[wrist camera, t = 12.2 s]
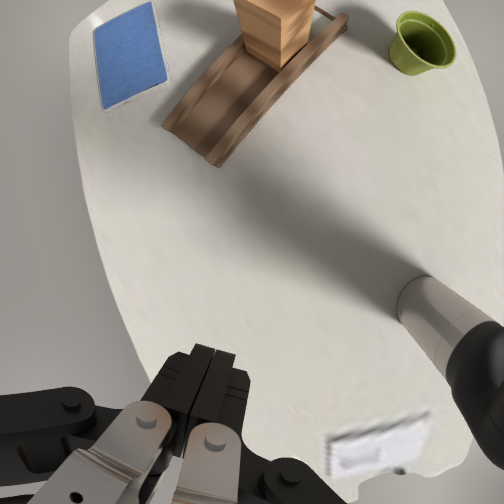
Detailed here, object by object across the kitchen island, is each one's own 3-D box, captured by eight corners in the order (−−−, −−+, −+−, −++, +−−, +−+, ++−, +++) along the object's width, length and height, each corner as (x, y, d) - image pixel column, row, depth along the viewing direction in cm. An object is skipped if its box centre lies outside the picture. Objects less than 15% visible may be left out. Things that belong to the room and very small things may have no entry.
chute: (219, 167, 39) (214, 166, 36) (167, 128, 39) (158, 124, 35) (346, 29, 33) (351, 18, 29) (294, -3, 32) (295, -15, 29)
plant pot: (385, 83, 34) (408, 63, 26) (372, 32, 32) (388, 6, 24) (436, 88, 33) (463, 72, 25) (421, 39, 31) (444, 17, 23)
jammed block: (280, 73, 35) (280, 18, 20) (246, 51, 34) (231, -7, 19) (306, 47, 33) (318, -12, 19) (273, 26, 33) (269, -36, 18)
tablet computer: (173, 84, 38) (170, 81, 36) (105, 115, 39) (100, 113, 38) (155, 2, 34) (153, -2, 33) (95, 31, 36) (91, 29, 34)
